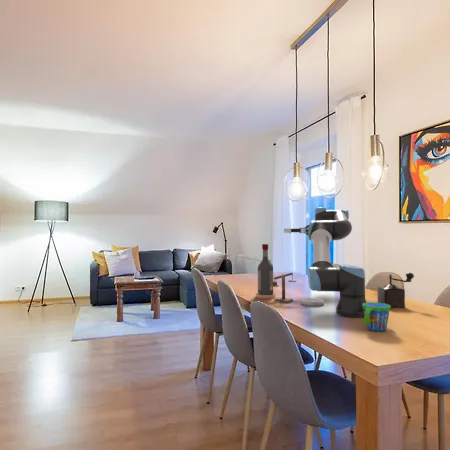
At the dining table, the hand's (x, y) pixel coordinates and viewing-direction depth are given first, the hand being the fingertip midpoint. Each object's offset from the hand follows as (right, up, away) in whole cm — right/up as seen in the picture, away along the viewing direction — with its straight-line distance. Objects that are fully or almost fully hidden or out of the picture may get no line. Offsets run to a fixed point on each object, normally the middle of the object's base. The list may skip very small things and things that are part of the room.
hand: (292, 230), depth 227 cm
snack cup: (+19, -39, -81) cm, 92 cm away
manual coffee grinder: (+48, -39, -37) cm, 72 cm away
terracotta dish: (-18, -40, -10) cm, 45 cm away
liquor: (-18, -38, -10) cm, 44 cm away
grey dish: (+5, -40, -32) cm, 51 cm away
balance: (-10, -40, -23) cm, 47 cm away
